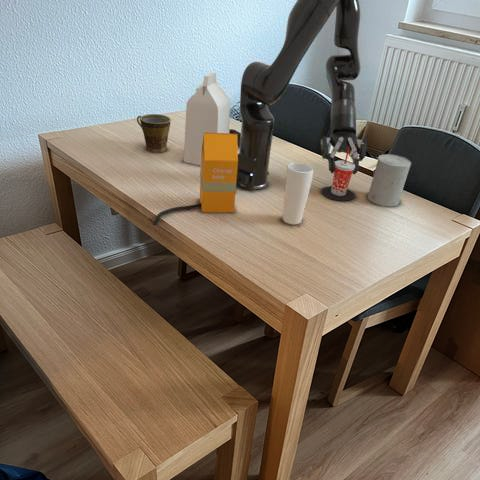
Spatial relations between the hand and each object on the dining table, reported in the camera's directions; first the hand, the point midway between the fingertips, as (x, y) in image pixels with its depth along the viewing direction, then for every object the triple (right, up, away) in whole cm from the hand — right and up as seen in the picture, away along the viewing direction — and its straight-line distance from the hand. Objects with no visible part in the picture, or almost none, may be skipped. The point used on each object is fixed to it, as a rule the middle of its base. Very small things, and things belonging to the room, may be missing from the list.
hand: (343, 172), depth 142 cm
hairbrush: (-30, +21, +34) cm, 50 cm away
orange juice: (-38, -12, -9) cm, 40 cm away
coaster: (-1, -5, +5) cm, 7 cm away
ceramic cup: (-61, +15, +22) cm, 66 cm away
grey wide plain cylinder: (+13, -7, +5) cm, 16 cm away
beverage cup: (-1, -5, +5) cm, 7 cm away
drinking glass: (-17, -17, -12) cm, 27 cm away
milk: (-42, +10, +18) cm, 47 cm away
